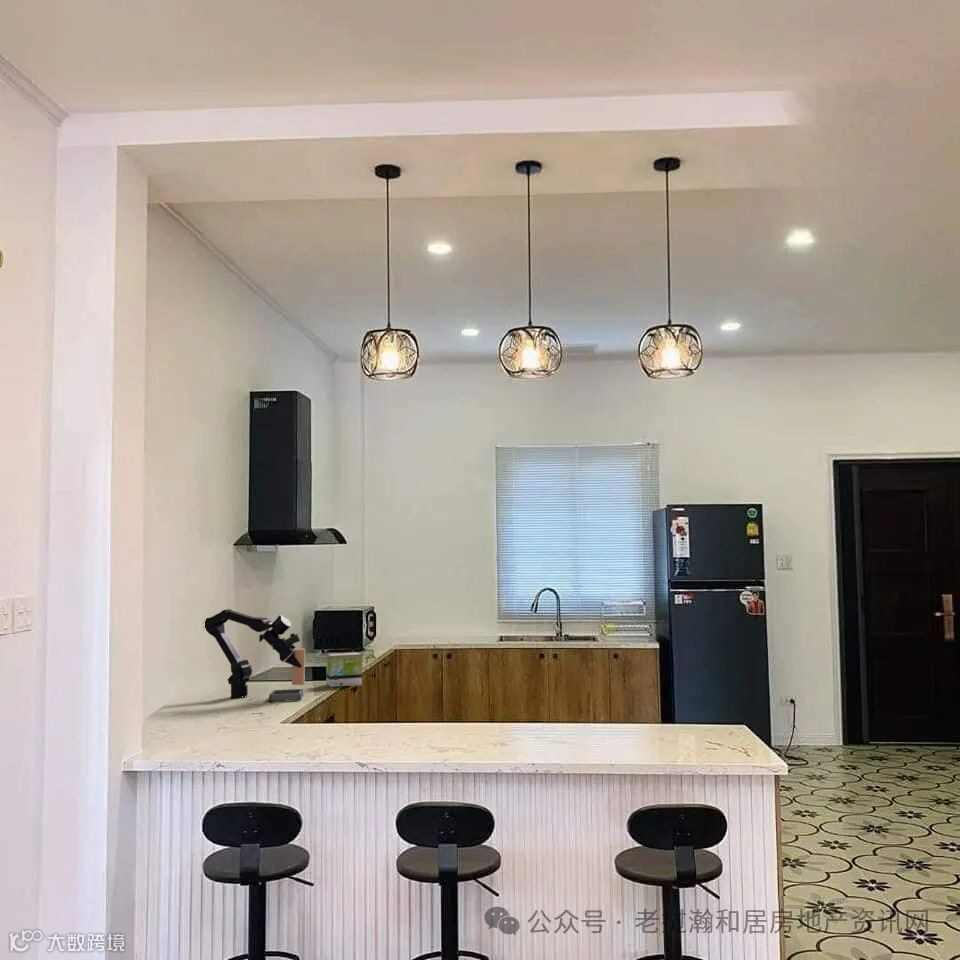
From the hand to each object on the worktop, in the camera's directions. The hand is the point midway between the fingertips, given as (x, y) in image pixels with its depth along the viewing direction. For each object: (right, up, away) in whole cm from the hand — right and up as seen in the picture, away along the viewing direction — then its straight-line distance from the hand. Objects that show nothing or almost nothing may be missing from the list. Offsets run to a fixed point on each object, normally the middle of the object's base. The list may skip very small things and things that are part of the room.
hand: (301, 666), depth 387 cm
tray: (-5, -13, -6) cm, 15 cm away
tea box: (+14, -15, +29) cm, 36 cm away
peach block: (-1, -8, -1) cm, 8 cm away
